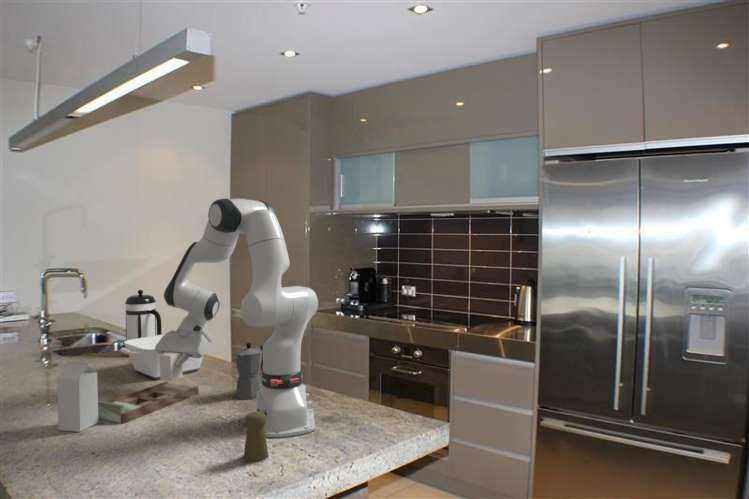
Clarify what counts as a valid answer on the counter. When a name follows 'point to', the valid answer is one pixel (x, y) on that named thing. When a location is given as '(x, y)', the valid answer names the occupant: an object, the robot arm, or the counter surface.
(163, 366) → the cream block
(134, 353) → the tub
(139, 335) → the coffee press
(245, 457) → the olive tapered knob-topped piece
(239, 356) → the coffeepot
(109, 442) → the counter surface
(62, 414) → the milk carton
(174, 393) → the box
